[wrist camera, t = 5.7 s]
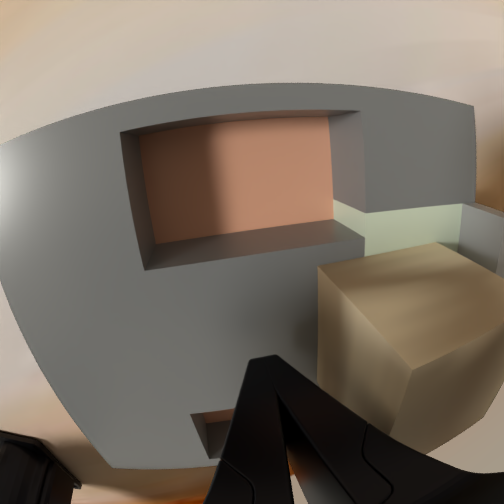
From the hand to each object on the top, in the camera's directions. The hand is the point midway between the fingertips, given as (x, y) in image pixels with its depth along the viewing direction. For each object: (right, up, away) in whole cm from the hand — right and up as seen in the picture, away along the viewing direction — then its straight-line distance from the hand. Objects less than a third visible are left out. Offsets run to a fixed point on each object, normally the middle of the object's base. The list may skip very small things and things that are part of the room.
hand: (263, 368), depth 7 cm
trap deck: (0, +1, +3) cm, 4 cm away
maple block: (+4, +1, +2) cm, 4 cm away
